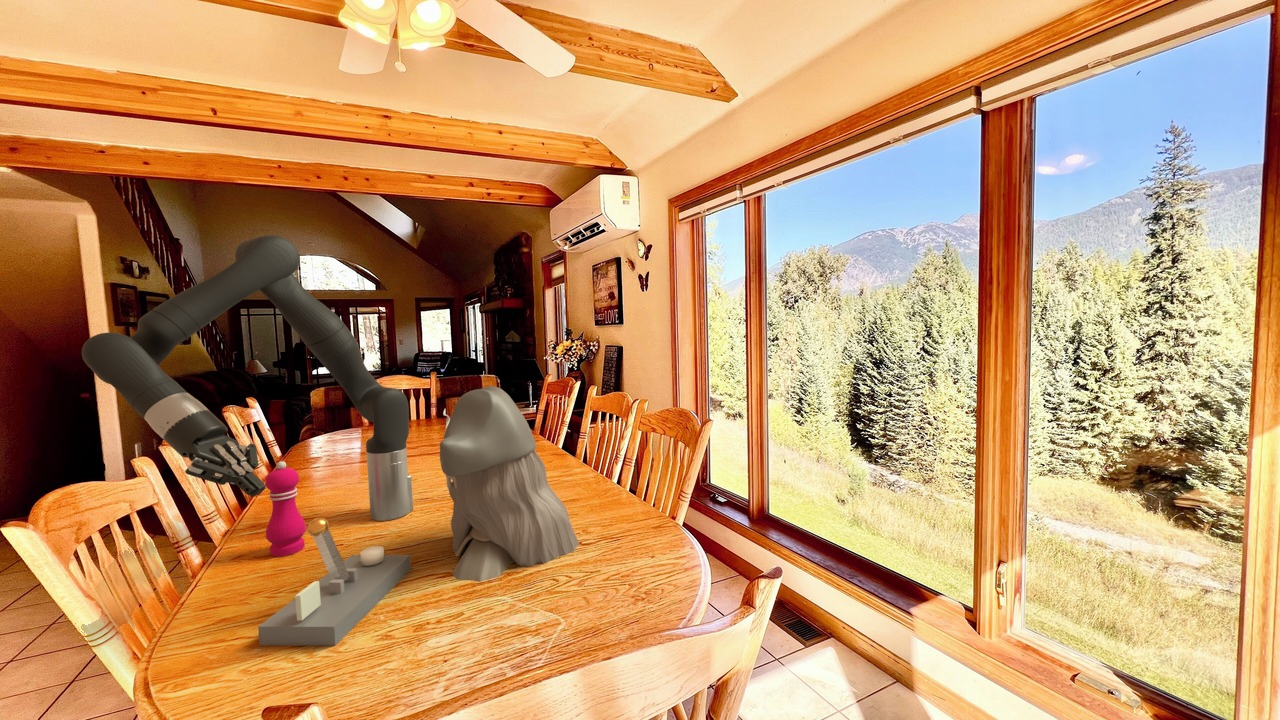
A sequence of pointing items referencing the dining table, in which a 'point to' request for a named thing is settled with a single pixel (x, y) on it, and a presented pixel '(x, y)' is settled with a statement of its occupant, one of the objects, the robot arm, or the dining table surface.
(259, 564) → the dining table surface
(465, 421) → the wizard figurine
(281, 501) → the pepper mill
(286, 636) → the control panel
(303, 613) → the paddle switch
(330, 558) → the toggle lever
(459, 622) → the dining table surface
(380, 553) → the push button
